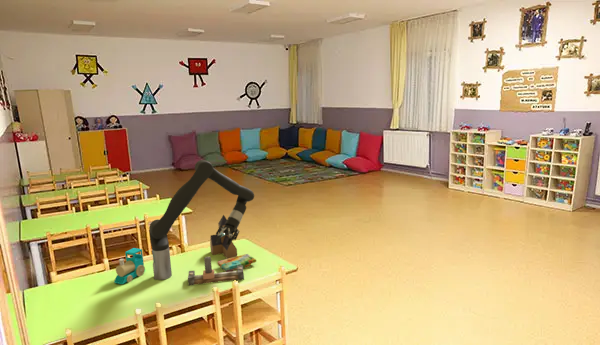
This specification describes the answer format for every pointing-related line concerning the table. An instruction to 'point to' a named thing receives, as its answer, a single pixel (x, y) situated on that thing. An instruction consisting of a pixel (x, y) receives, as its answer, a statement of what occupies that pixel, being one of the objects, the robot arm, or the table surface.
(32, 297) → the table surface
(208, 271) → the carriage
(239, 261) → the puzzle game
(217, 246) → the toy building blocks
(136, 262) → the toy train
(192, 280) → the rail bed
